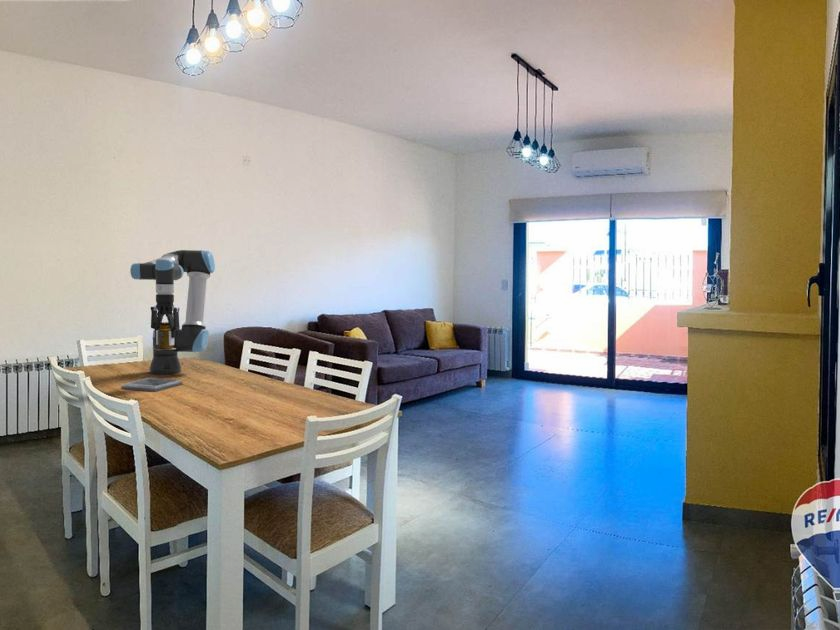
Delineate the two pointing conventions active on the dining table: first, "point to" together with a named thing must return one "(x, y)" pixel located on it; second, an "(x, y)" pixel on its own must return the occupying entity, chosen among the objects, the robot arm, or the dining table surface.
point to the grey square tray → (152, 384)
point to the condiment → (164, 337)
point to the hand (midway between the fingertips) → (165, 344)
